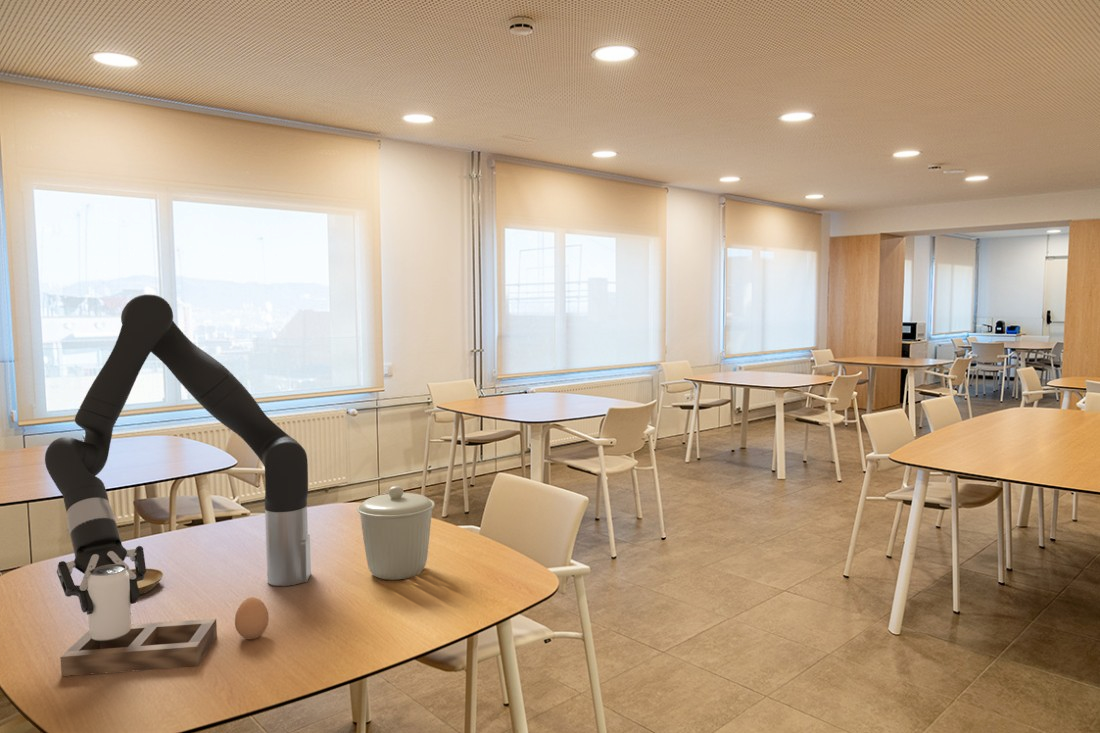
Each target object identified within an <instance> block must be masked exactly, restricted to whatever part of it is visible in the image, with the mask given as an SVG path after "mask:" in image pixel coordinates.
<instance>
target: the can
mask: <svg viewBox="0 0 1100 733" xmlns="http://www.w3.org/2000/svg"><path fill="white" fill-rule="evenodd" d="M87 590H88V593H89V596H90V598H91V600H92V604H93V612H92V614H89V615H88V631H89V634H90V638H92V639H93V640H95V641H109V640H114V639H117V638H120V637H122V636H124V635H126V634H127V633H128V632H129V631H130V629H131V625H132V617H131V616H132V615H131V614H132V613H131V603H130V582H129V573H128V572H127V570H126V566H125V565H123V564H110V565H104V566H100V567H97V568H94V569H92V570H91V571H90V576H89V579H88V589H87Z"/></svg>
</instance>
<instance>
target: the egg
mask: <svg viewBox="0 0 1100 733" xmlns="http://www.w3.org/2000/svg"><path fill="white" fill-rule="evenodd" d="M236 610H237V611H236V612H235V616H234V617H235V618H234V626H235V627H234V628H235V630H236V632H237V633H238V634H239V636H241V638H244V639H247V640H255V639H258V638H259V637H260V636H262V635H263V634H264V632H266V630H267V627H268V626H269V621H270V620H269V619H270V617H269V615H270V614H269V611H268V608H267V606H266V605H265V603H264V602H263V601H262V600H261V599H260V598H258V597H254V596H251V597H248V598H246V599H245V600H243V601H242V602H241V603H240V605H239V606H238V608H237V609H236Z"/></svg>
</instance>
